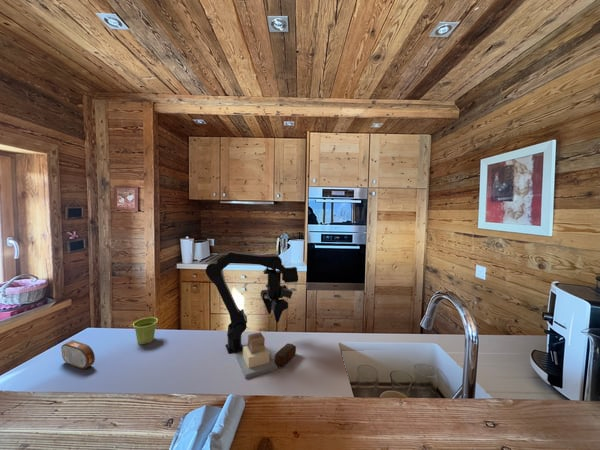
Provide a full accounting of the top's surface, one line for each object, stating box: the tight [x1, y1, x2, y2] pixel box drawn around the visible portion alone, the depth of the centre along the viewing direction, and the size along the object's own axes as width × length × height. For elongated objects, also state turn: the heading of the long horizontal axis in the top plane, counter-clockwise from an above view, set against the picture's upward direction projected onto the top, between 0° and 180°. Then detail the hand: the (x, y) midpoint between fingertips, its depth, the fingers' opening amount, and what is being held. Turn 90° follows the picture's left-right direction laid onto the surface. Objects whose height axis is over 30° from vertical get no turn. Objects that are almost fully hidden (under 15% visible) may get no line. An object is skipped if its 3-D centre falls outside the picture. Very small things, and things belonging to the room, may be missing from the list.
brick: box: [273, 343, 297, 369], centre depth 99 cm, size 11×4×5 cm, turn 152°
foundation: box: [235, 344, 278, 380], centre depth 96 cm, size 14×12×6 cm
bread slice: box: [61, 339, 96, 370], centre depth 92 cm, size 15×3×8 cm, turn 71°
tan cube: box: [247, 331, 266, 354], centre depth 96 cm, size 5×5×5 cm
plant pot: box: [132, 317, 159, 345], centre depth 110 cm, size 9×9×9 cm
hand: (273, 317), depth 110 cm, fingers open, 9 cm apart
